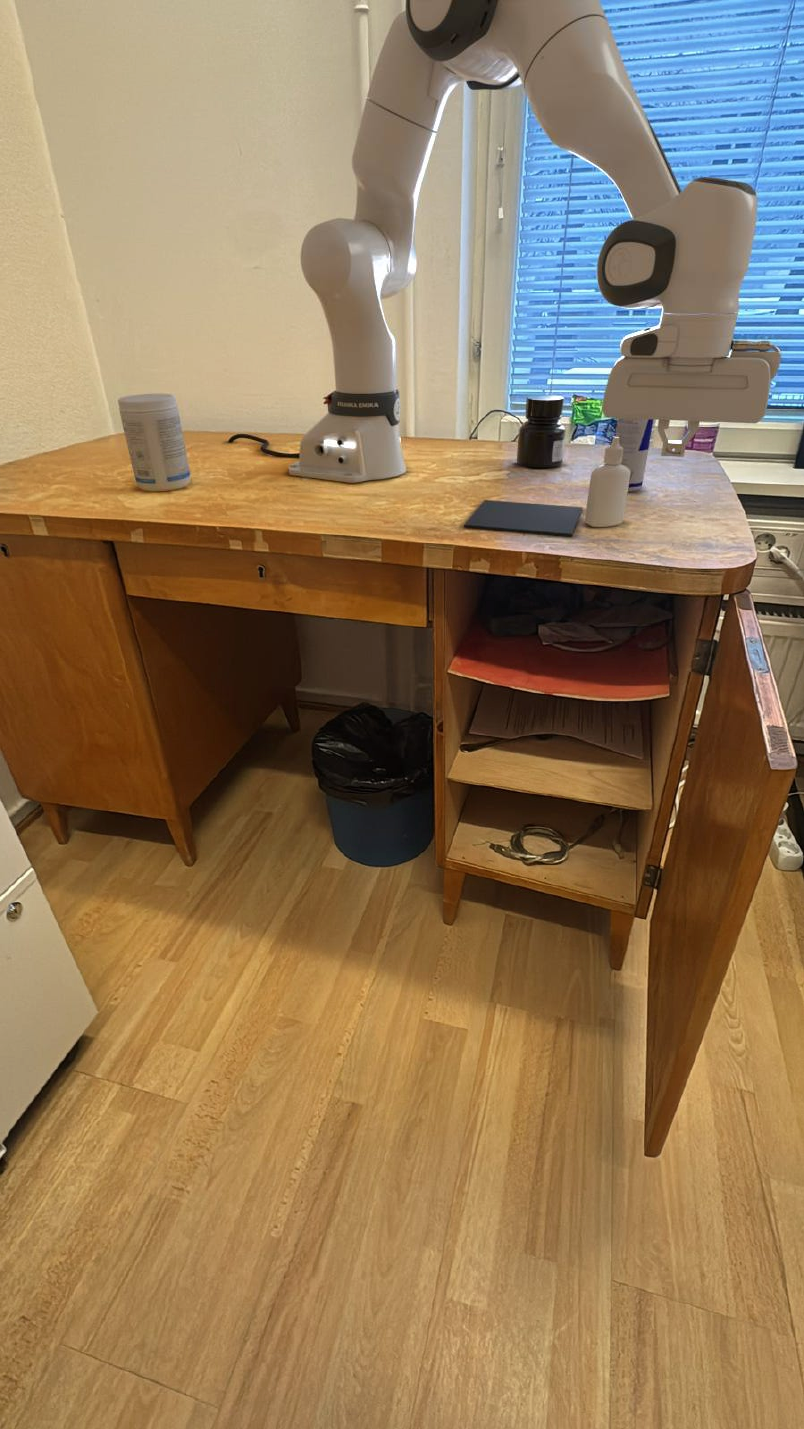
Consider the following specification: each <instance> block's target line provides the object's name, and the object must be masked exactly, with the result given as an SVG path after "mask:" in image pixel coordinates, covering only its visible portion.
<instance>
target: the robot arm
mask: <svg viewBox="0 0 804 1429" xmlns="http://www.w3.org/2000/svg"><path fill="white" fill-rule="evenodd" d="M619 50H620V49H619V48H618V45H617V42H616V39H615V37H614V34H613V32H612V29H611V26H610V24H609V21H608V18H607V16H606V13H605V11H604V8H603V6H602V4H601V2H600V0H405V10H403V11H402V12H400V13H398V15H397V16H396V17H395V19H393V22H392V23H391V25H390V27H389V30H388V33H387V35H386V37H385V40H384V42H383V45H382V47H381V50H380V52H379V55H378V58H377V61H376V64H375V67H374V70H373V73H372V77H371V80H370V84H369V86H368V91H367V95H366V97H367V98H366V99H365V103H364V107H363V111H362V114H361V119H360V123H359V127H358V132H357V135H356V140H355V143H354V147H353V150H352V151H353V152H352V156H351V168H352V172H353V175H354V178H355V182H356V205H355V213H354V218H353V219H351V218H344V217H337V218H331V219H329V220H326V221H323V222H320V223H318V224H315V225H314V226H312V227H311V228H310V229H309V230H308V231H307V233H306V234H305V237H304V238H303V241H302V243H301V247H300V248H301V249H300V259H299V260H300V267H301V271H302V275H303V278H304V279H305V281H306V283H307V285H308V286H309V287H310V288H311V290H312V291H313V292H314V294H315V295H316V297H317V299H318V301H319V303H320V306H321V308H322V311H323V314H324V317H325V320H326V324H327V327H328V332H329V335H330V340H331V346H332V359H333V368H334V369H333V370H334V381H335V382H334V383H335V390H334V391H332V392H330V393H329V394H328V395H327V396H324V397H323V398H322V400H324V402H323V405H326V406H327V413H326V414H325V415H323V417H322V418H320V420H319V421H317V422H316V423H315V424H314V425H313V426H312V427H311V428H310V429H309V430H308V431H307V432H305V433H304V435H303V436H302V438H301V440H300V444H299V452H296V453H289V452H287V453H286V452H280V451H279V452H278V451H275V450H271V449H268V447H269V445H270V442H269V440H268V439H266V438H265V439H264V438H261V437H259V436H255V435H252V434H247V433H237V434H236V433H235V434H234V435H232V436H231V437H229V439H228V441H227V443H228V444H232V443H234V441H236V440H238V439H248V440H252V441H255V442H258V443H261V444H262V445H261V446H260V451H261V453H263V454H266V455H270V456H274V457H277V458H289V459H298V460H296V461H294V462H293V463H291V464H290V465H289V467H288V474H289V475H290V476H295V477H296V476H297V477H302V478H303V477H304V478H310V479H311V478H312V479H317V480H318V479H319V480H328V481H334V482H343V483H349V484H350V483H351V484H353V483H354V484H356V483H361V482H366V481H373V480H383V479H389V478H390V479H391V478H395V477H398V476H401V475H403V474H405V473H406V472H407V470H408V468H407V466H406V461H405V458H404V454H403V447H402V443H401V441H402V440H401V436H400V425H399V424H400V421H401V398H400V390H399V389H398V376H397V375H398V374H397V373H398V372H397V370H398V369H397V366H398V365H397V362H398V361H397V342H396V338H395V336H394V335H393V333H392V332H391V330H390V328H389V326H388V323H387V320H386V317H385V313H384V309H383V304H382V300H386V299H390V298H392V297H394V296H396V295H398V294H400V293H401V292H403V291H404V290H406V289H407V288H408V287H409V286H410V284H411V282H412V281H413V279H414V277H415V274H416V271H417V264H418V261H417V260H418V258H417V253H416V249H415V244H414V238H415V226H416V217H417V210H418V203H419V197H420V193H421V188H422V184H423V181H424V177H425V175H426V171H427V167H428V164H429V160H430V157H431V154H432V150H433V147H434V145H435V140H436V138H437V134H438V133H437V132H438V131H439V128H440V124H441V121H442V117H443V113H444V110H445V107H446V104H447V102H448V99H449V97H450V95H451V93H452V91H454V89H455V88H457V86H459V85H460V84H462V83H464V82H466V85H467V87H468V88H469V89H470V90H472V91H483V90H486V91H487V90H488V91H489V90H490V91H501V90H502V91H503V90H510V89H513V88H516V87H519V86H521V85H522V88H523V90H524V92H525V96H526V98H527V100H528V103H529V105H530V108H531V111H532V113H533V115H534V118H535V119H536V121H537V123H538V124H539V126H540V128H541V129H542V130H543V132H544V134H546V137H547V138H548V140H550V142H551V143H552V144H554V145H555V146H556V147H559V149H562V150H564V151H566V152H568V153H570V154H572V155H575V156H576V157H578V158H579V159H581V160H584V161H585V162H588V163H589V164H591V165H593V166H594V167H596V168H597V169H599V170H600V171H602V172H603V173H604V174H605V176H607V177H608V178H609V179H610V180H611V181H612V183H614V185H615V186H616V188H617V189H618V191H619V193H620V195H621V197H622V199H623V202H624V204H625V206H626V208H627V210H628V212H629V214H630V217H631V219H630V220H627V221H624V222H621V223H620V224H619V225H617V226H616V227H614V228H613V229H612V231H611V232H609V234H608V235H607V237H606V238H605V240H604V242H603V244H602V246H601V249H600V251H599V254H598V258H597V262H596V263H597V264H596V281H597V285H598V289H599V292H600V294H601V295H602V297H603V298H604V300H605V301H606V302H607V303H608V304H611V305H612V306H615V307H619V308H621V309H627V310H628V309H631V310H632V309H640V310H642V309H643V310H644V309H646V310H647V309H661V310H662V311H661V316H660V322H659V323H658V325H655V326H652V327H651V326H649V327H645V328H644V329H643V330H640V331H636V332H634V333H633V332H632V333H631V334H628V335H625V337H623V339H622V340H621V342H620V346H619V352H620V354H621V357H620V358H618V360H616V362H615V363H614V365H613V366H612V368H611V370H610V373H609V376H608V379H607V382H606V386H605V390H604V395H603V399H602V403H601V412H602V414H603V415H604V416H605V418H607V419H618V418H628V419H653V421H657V420H658V421H657V429H656V430H657V432H658V434H659V437H660V439H661V443H662V446H661V451H660V452H661V453H660V456H661V457H679V458H684V456H685V451H686V446H687V444H688V443H689V442H690V441H691V440H692V439H693V437H694V436H695V435H696V433H698V431H699V426H700V422H705V423H706V422H708V423H733V424H758V423H759V422H760V421H761V420H763V418H764V417H765V416H766V413H767V408H768V403H769V397H770V389H771V381H772V380H773V379H774V378H775V377H776V375H777V374H778V372H779V369H780V364H781V361H782V353H781V350H780V349H779V347H778V346H777V345H775V344H772V341H769V340H759V341H751V340H738V339H737V340H734V339H733V338H734V333H735V329H736V326H737V320H738V316H739V309H740V303H739V302H740V300H739V297H740V290H741V287H742V284H743V281H744V279H745V277H746V275H747V273H748V270H749V265H750V262H751V256H752V250H753V245H754V238H755V232H756V225H757V218H758V217H757V216H758V196H757V193H756V191H755V190H754V188H753V187H752V186H751V185H750V184H748V183H747V182H743V181H737V180H732V179H725V178H718V177H709V176H702V177H697V178H695V179H693V180H691V181H689V182H688V184H686V186H685V187H684V188H683V189H681V187H680V184H679V182H678V180H677V178H676V176H675V174H674V170H673V168H672V167H671V165H670V163H669V160H668V158H667V156H666V154H665V152H664V149H663V146H662V145H661V142H660V141H659V138H658V136H657V134H656V132H655V131H654V128H653V126H652V125H651V123H650V121H649V119H648V117H647V115H646V113H645V110H644V108H643V106H642V103H641V100H640V99H639V97H638V94H637V92H636V90H635V88H634V85H633V82H632V81H631V79H630V76H629V72H628V71H627V68H626V66H625V63H624V61H623V59H622V55H621V52H620V51H619ZM671 421H680V422H682V421H683V422H687V423H686V430H687V432H686V433H685V435H684V436H683V437H682V439H681V440H670V439H669V437H668V435H667V432H666V430H668V429H669V427H670V422H671Z"/></svg>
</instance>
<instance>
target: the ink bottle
mask: <svg viewBox="0 0 804 1429" xmlns="http://www.w3.org/2000/svg"><path fill="white" fill-rule="evenodd" d="M564 399H565V397H563V396H561V395H554V394H533V395H528V396H527V397H526V401H525V402H526V403H525V419H526V421H525V422H524V423H523V424H521V426H520V427H519V428H518V438H517V448H516V450H517V453H516V464H518V465H520V466H522V467H526V468H532V469H533V468H535V469H548V468H549V469H551V468H556V467H560V466H561V465H562V464H563V458H564V450H565V443H566V442H565V441H566V427H565V426H564V425H562V422H560V420H562V415H563V408H564Z"/></svg>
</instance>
